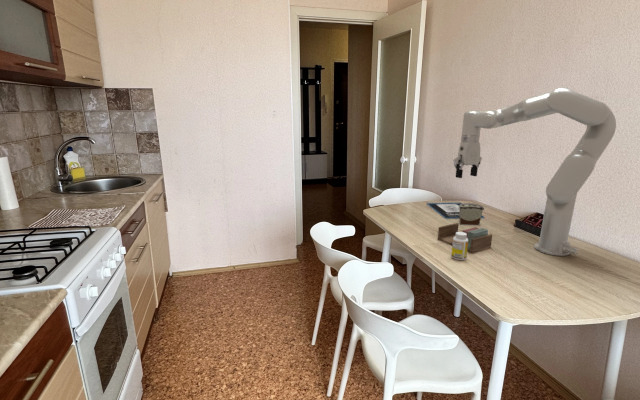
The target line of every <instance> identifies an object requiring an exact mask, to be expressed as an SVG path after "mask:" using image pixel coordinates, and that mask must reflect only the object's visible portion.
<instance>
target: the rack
mask: <svg viewBox="0 0 640 400" xmlns="http://www.w3.org/2000/svg"><path fill="white" fill-rule="evenodd" d="M459 225H460V222H459V223H458V222H455V223H451V224H447V225H442V226H438V231H437V241H440V242H442V243H445V244H448V245H450V246H452V245H453V238H454V237H455V235H456V232H459ZM461 232H464V233H466V234H467V237H466V238H467V239H468V248H467V253H469V254H472V255H473V254H476V253H479V252H482V251H486V250H489V249H491V248H492V241H493V234H492V233H489V229H487V228H484V227H480V228H479V227H476V226H475V227H474V226H473V227H470V228H466V229H463V230H461Z"/></svg>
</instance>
